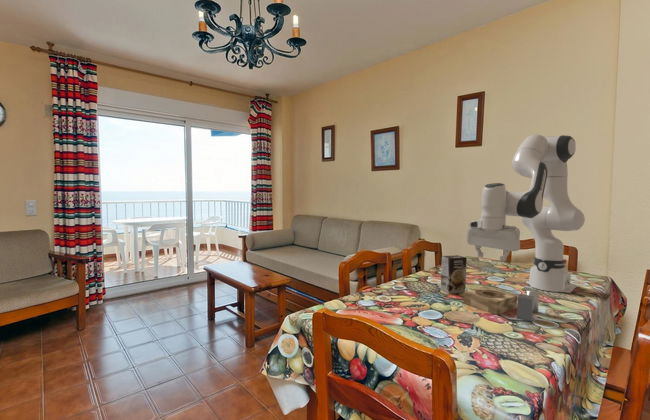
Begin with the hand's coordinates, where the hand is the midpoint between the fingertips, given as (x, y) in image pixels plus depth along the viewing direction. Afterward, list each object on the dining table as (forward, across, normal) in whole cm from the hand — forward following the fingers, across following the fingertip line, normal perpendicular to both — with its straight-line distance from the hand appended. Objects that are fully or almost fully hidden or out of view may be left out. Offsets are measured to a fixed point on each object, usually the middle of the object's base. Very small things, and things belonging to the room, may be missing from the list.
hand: (491, 258), depth 129 cm
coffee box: (+19, +20, -4) cm, 28 cm away
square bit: (+19, -14, +1) cm, 24 cm away
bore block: (+19, 0, 0) cm, 19 cm away
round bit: (+19, -12, -8) cm, 24 cm away
